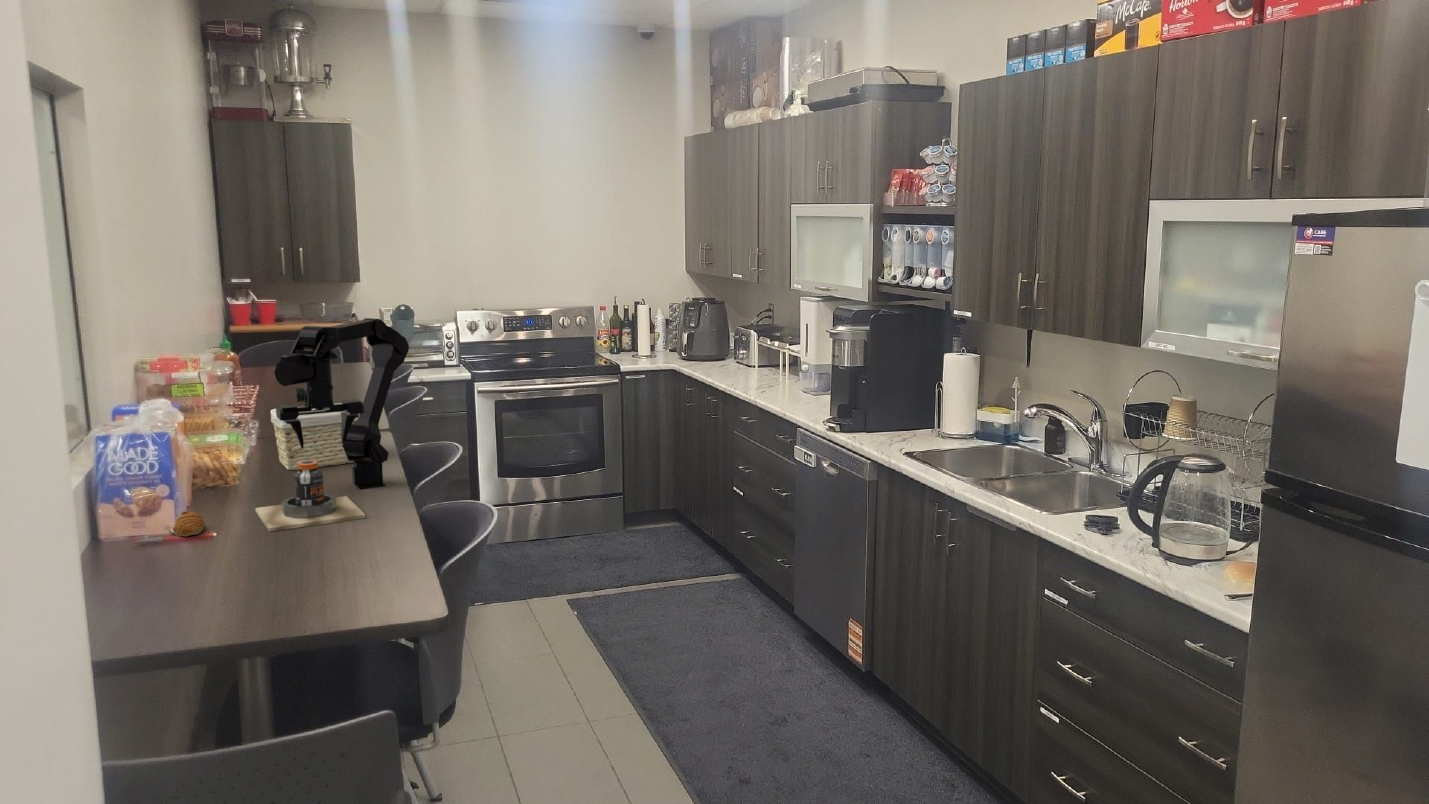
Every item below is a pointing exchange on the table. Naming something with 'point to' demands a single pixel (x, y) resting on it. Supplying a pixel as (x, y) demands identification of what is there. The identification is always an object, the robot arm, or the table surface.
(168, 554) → the table surface
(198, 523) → the pastry
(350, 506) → the ring holder
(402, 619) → the table surface
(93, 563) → the table surface
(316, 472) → the pill bottle
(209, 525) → the table surface
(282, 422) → the storage basket
